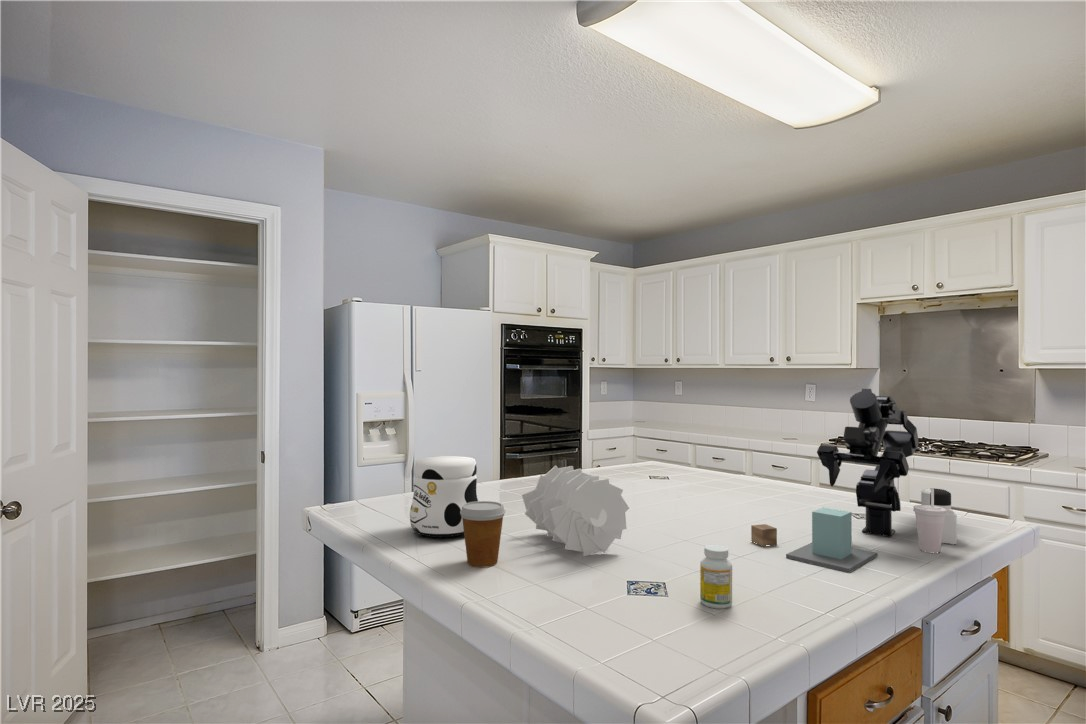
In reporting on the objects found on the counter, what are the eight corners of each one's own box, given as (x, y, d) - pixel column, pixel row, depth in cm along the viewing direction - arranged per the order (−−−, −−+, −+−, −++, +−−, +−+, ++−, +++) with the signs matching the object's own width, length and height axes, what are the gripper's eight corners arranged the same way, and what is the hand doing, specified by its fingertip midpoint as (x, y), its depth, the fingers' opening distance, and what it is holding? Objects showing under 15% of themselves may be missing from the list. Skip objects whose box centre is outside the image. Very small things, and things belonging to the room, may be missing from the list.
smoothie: (952, 556, 132) (952, 492, 132) (920, 554, 133) (919, 490, 133) (939, 547, 138) (939, 486, 138) (908, 545, 139) (908, 485, 139)
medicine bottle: (951, 537, 146) (950, 488, 147) (957, 545, 140) (956, 493, 140) (916, 534, 149) (916, 485, 150) (921, 541, 143) (920, 490, 143)
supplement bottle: (724, 612, 101) (724, 554, 101) (694, 604, 104) (694, 548, 104) (737, 602, 105) (737, 547, 105) (708, 595, 108) (708, 541, 108)
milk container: (395, 537, 145) (395, 462, 145) (434, 521, 161) (434, 453, 161) (457, 545, 139) (458, 467, 139) (491, 527, 155) (492, 457, 155)
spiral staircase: (568, 546, 152) (618, 571, 129) (508, 521, 146) (549, 543, 123) (594, 478, 156) (647, 491, 133) (537, 452, 150) (582, 460, 128)
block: (765, 540, 143) (765, 524, 143) (776, 545, 139) (776, 528, 140) (751, 542, 142) (751, 525, 142) (762, 547, 138) (762, 529, 138)
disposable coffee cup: (469, 572, 120) (469, 512, 120) (453, 559, 128) (453, 503, 128) (512, 565, 124) (512, 507, 124) (494, 553, 133) (494, 498, 133)
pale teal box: (823, 547, 135) (823, 507, 135) (851, 553, 130) (851, 511, 131) (812, 553, 131) (812, 511, 131) (841, 559, 126) (840, 516, 126)
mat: (817, 543, 141) (817, 540, 141) (877, 556, 131) (877, 552, 131) (786, 557, 130) (786, 554, 130) (849, 572, 120) (849, 568, 120)
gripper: (819, 412, 149) (800, 461, 141) (904, 416, 135) (888, 471, 127) (832, 441, 154) (814, 490, 146) (915, 448, 140) (900, 502, 133)
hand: (851, 488), depth 138 cm, fingers open, 9 cm apart
